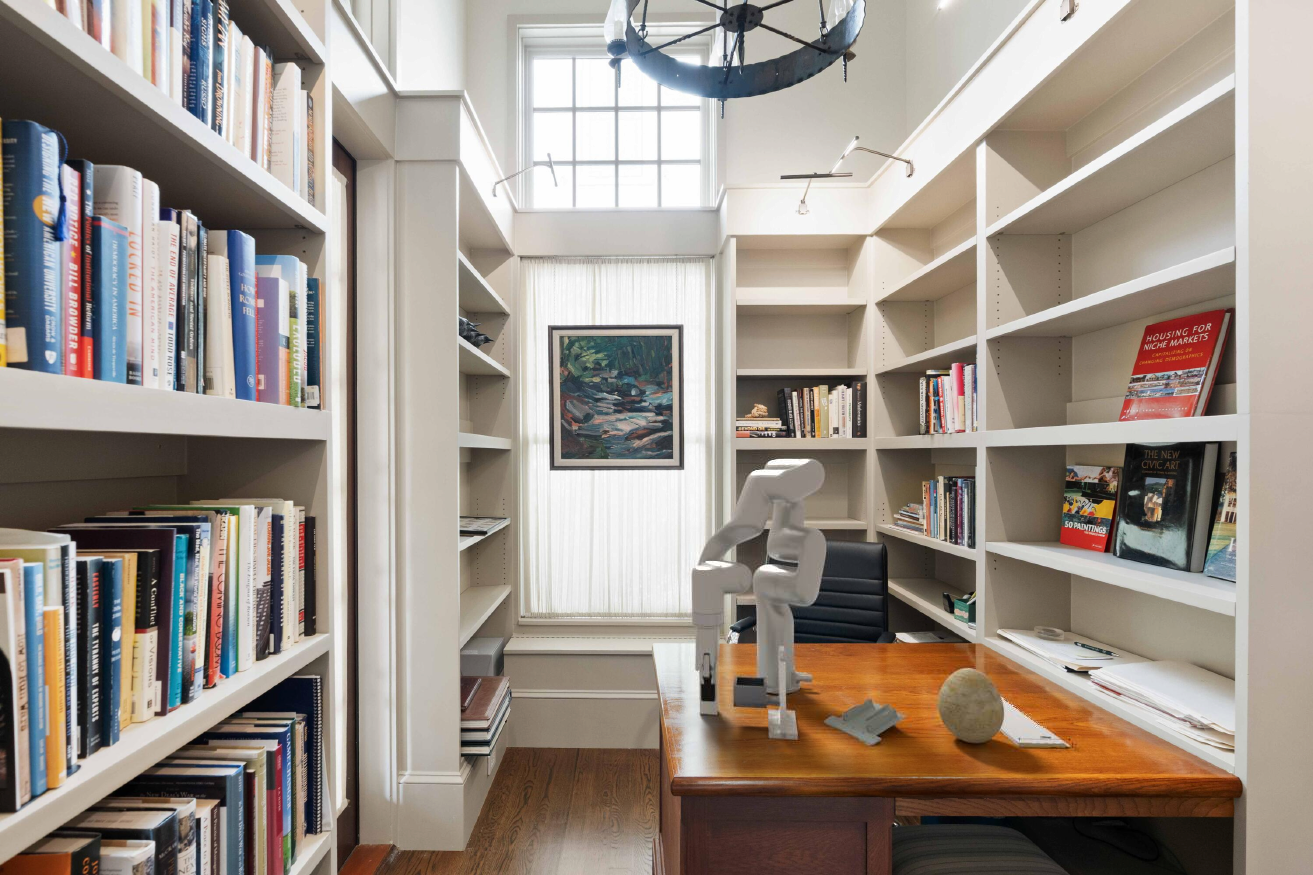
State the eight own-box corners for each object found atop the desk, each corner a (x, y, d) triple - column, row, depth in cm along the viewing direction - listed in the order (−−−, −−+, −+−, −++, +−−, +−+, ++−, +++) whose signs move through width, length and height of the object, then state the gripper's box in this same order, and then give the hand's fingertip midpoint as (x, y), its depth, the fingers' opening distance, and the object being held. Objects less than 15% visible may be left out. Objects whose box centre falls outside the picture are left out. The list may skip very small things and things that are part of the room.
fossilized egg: (1016, 743, 145) (1015, 670, 146) (983, 758, 138) (982, 681, 138) (959, 725, 155) (958, 657, 156) (926, 737, 148) (925, 666, 148)
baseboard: (1007, 700, 174) (958, 699, 174) (1007, 688, 174) (958, 688, 174) (1078, 750, 143) (1018, 750, 143) (1077, 736, 143) (1018, 735, 143)
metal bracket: (864, 689, 163) (914, 709, 149) (870, 712, 163) (920, 734, 150) (817, 716, 157) (865, 739, 143) (823, 740, 157) (871, 765, 144)
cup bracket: (794, 715, 161) (794, 645, 161) (797, 739, 147) (797, 662, 148) (735, 712, 163) (735, 643, 163) (732, 735, 149) (732, 660, 150)
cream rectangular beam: (718, 708, 165) (717, 661, 165) (717, 714, 161) (716, 666, 161) (701, 707, 165) (700, 660, 166) (699, 713, 161) (699, 665, 162)
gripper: (695, 610, 173) (696, 685, 172) (688, 626, 156) (689, 709, 156) (725, 611, 171) (726, 686, 171) (721, 627, 155) (723, 710, 154)
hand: (708, 696), depth 163 cm, fingers closed on cream rectangular beam, 4 cm apart
